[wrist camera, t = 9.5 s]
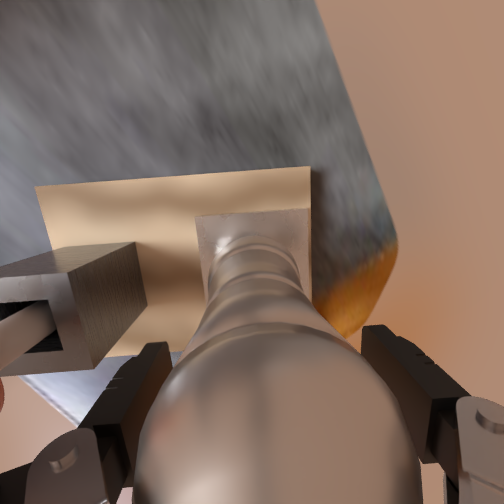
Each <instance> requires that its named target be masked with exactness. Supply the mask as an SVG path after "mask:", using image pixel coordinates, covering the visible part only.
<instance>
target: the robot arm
mask: <svg viewBox="0 0 504 504" xmlns="http://www.w3.org/2000/svg"><path fill="white" fill-rule="evenodd" d="M361 355H362V356H363V357H364V358H365V359H366V360H367V362H368V363H369V364H370V365H371V366H372V368H373V369H374V370H375V371H376V372H377V373H378V375H379V376H380V377H381V378H382V379H383V380H384V381H385V383H386V384H387V386H388V387H389V388H390V390H391V391H392V393H393V394H394V396H395V397H396V399H397V400H398V403H399V406H400V409H401V411H402V414H403V417H404V420H405V422H406V425H407V428H408V430H409V433H410V436H411V439H412V441H413V444H414V447H415V450H416V453H417V456H418V457H419V459H420V460H421V462H422V463H423V464H428V463H439V464H440V465H441V467H442V469H443V470H444V477H443V487H444V504H504V407H503V406H501V405H499V404H497V403H495V402H492V401H490V400H487V399H483V398H479V397H473V396H471V395H470V394H469V393H468V392H467V391H465V389H463V388H462V387H461V386H460V385H459V384H458V383H457V382H456V381H455V380H453V379H452V378H451V377H450V376H449V375H448V374H447V373H446V372H445V371H444V370H443V369H441V368H440V367H439V366H438V365H437V364H435V363H434V361H433V360H432V359H430V358H429V357H428V356H426V355H425V353H424V352H423V351H422V350H421V349H419V348H418V347H417V346H416V345H415V344H414V343H412V342H410V341H408V340H406V339H404V338H402V337H401V336H396V335H395V334H394V333H393V332H392V331H391V330H389V329H388V328H387V327H386V326H385V325H370V326H364V327H363V329H362V341H361ZM172 369H173V367H172V361H171V356H170V350H169V345H168V343H167V342H166V341H163V342H150V343H146V344H145V346H144V347H143V349H142V350H141V352H140V353H139V355H138V356H137V357H132V358H131V359H130V360H128V361H127V362H126V363H125V364H123V365H122V366H121V367H120V368H119V370H118V371H117V373H116V374H115V375H114V377H113V379H112V380H111V381H110V382H109V384H108V385H107V387H106V390H104V391H103V392H102V394H101V395H100V397H99V398H98V399H97V401H96V402H95V404H94V405H93V406H92V408H91V409H90V411H89V412H88V414H87V415H86V416H85V418H84V419H83V421H82V422H81V423H80V425H79V426H78V428H77V429H75V430H72V431H69V432H67V433H65V434H63V435H61V436H60V437H58V438H56V439H55V440H54V441H52V442H51V443H50V444H48V445H47V446H46V447H45V448H44V449H43V450H42V451H41V452H40V453H39V454H38V455H37V457H36V458H35V459H34V461H33V462H31V463H28V464H26V465H23V466H20V467H17V468H15V469H12V470H9V471H7V472H4V473H1V474H0V504H116V502H117V500H118V498H119V495H120V493H121V490H122V488H126V487H133V482H134V474H135V467H136V459H137V452H138V444H139V436H140V432H141V430H142V427H143V424H144V422H145V419H146V416H147V414H148V412H149V410H150V408H151V406H152V404H153V402H154V401H155V399H156V397H157V395H158V392H159V390H160V388H161V386H162V385H163V383H164V382H165V380H166V379H167V377H168V375H169V374H170V372H171V371H172Z"/></svg>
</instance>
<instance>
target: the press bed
mask: <svg viewBox="0 0 504 504" xmlns="http://www.w3.org/2000/svg"><path fill="white" fill-rule="evenodd" d="M195 224H196V232H197V239H198V247H199V254H200V262H201V270H202V277H203V285H204V292H205V300H206V307H207V303H208V296H209V295H208V274H209V269H210V266H211V264H212V261H213V260H214V258H215V256H216V255H217V254H218V253H219V252H220V250H221V249H222V248H223V247H225V246H226V245H228V244H229V243H231V242H232V241H234V240H237V239H239V238H242V237H246V236H263V237H267V238H270V239H273V240H276V241H277V242H279V243H281V244H282V245H284V246H285V247H286V248H287V249H288V250H289V251H290V253H291V254H292V255H293V257H294V259H295V261H296V264H297V267H298V270H299V275H300V283H301V286H302V288H303V291H304V294H305V295H306V296H307V298H308V299H309V260H308V208H293V209H280V210H267V211H254V212H241V213H228V214H214V215H201V216H196V217H195Z"/></svg>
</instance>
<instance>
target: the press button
mask: <svg viewBox="0 0 504 504" xmlns="http://www.w3.org/2000/svg"><path fill="white" fill-rule="evenodd" d="M56 329H57V327H56V324H55V321H54V318H53V315H52V311H51V308H50V305H49V302H48V299H46V300H39V301H37V302H36V303H34V304H32V305H30V306H28V307H26V308H24V309H22V310H21V311H19V312H17V313H15V314H13V315H11V316H9V317H7V318H6V319H4V320H2V321H0V370H2V369H3V368H4V367H6V366H7V365H9V364H10V363H11V362H13V361H14V360H15V359H17V358H18V357H19V356H21V355H22V354H24V353H25V352H26V351H28V350H29V349H30V348H32V347H33V346H34V345H36V344H37V343H38V342H40V341H41V340H43V339H44V338H45V337H47V336H48V335H49V334H51V333H52V332H53V331H55V330H56ZM3 404H4V388H3V384H2V381H1V378H0V412H1V409H2V407H3Z"/></svg>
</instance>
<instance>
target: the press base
mask: <svg viewBox="0 0 504 504" xmlns="http://www.w3.org/2000/svg"><path fill="white" fill-rule="evenodd" d="M35 190H36V194H37V197H38V201H39V204H40V207H41V211H42V214H43V218H44V221H45V225H46V228H47V232H48V235H49V238H50V242H51V245H52V249H53V250H56V249H59V248H62V247H69V246H82V245H95V244H108V243H121V242H134V241H135V244H136V249H137V254H138V259H139V264H140V269H141V274H142V279H143V284H144V289H145V294H146V299H147V304H148V306H147V307H146V308H145V310H144V311H143V312H142V313H141V314H140V316H139V317H138V318H137V319H136V320H135V321H134V323H133V324H132V325H131V326H130V327H129V329H128V330H127V331H126V332H125V333H124V334H123V336H122V337H121V338H120V339H119V340H118V342H117V343H116V344H115V345H114V346H113V347H112V349H111V350H110V351H109V352H108V353H107V354H106V356H105V357H113V356H126V355H138V354H139V353H140V352H141V350H142V349H143V347H144V346H145V344H146V343H150V342H163V341H166V342H167V343H168V345H169V350H170V352H175V351H184V350H185V348H186V346H187V345H188V343H189V342H190V340H191V338H192V337H193V335H194V334H195V332H196V330H197V328H198V326H199V324H200V321H201V319H202V317H203V314H204V312H205V310H206V300H205V292H204V285H203V277H202V270H201V262H200V254H199V247H198V239H197V232H196V224H195V217H196V216H201V215H214V214H228V213H241V212H254V211H267V210H280V209H293V208H308V260H309V300H310V302H311V303H312V278H311V189H310V166H305V167H291V168H278V169H265V170H251V171H238V172H225V173H211V174H198V175H184V176H171V177H158V178H144V179H131V180H118V181H104V182H91V183H77V184H64V185H51V186H37V187H35Z"/></svg>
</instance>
